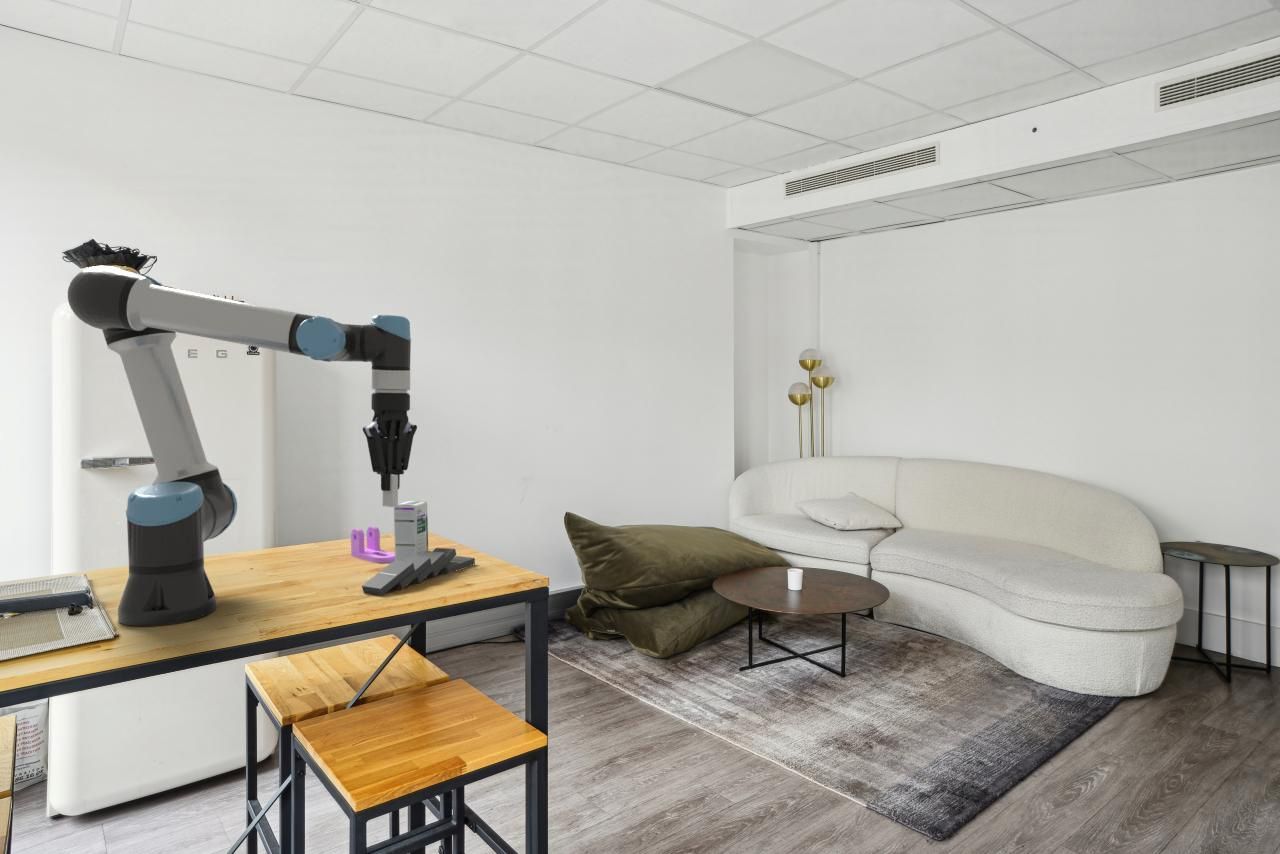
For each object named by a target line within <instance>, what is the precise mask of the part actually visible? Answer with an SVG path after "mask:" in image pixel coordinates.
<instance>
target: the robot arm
mask: <svg viewBox="0 0 1280 854" xmlns="http://www.w3.org/2000/svg"><path fill="white" fill-rule="evenodd" d="M67 300H68V301H67V302H68V304H69V307H70V309H71V311H72V312H73V314H74V315H75V316H76V317H77V318H78V319H79V320H81V321H82V322H84V324H86V325H88V326H91V328H95V329H99V330H101V331H102V334H103V336H104V340H105V343H106V346H107V348H108V349H109V350H111V351H112V352H115V353H116V354H118V355H119V356H120V359H121V362H122V365H123V368H124V371H125V375H126V378H127V380H128V383H129V387H130V391H131V393H132V396H133V400H134V401H135V405H136V409H137V412H138V415H139V418H140V421H141V424H142V427H143V430H144V431H143V432H144V433H145V436H146V437H145V438H146V439H147V443H148V446H149V449H150V451H151V455H152V458H153V462H154V464H155V468H156V471H157V476H156V477H155V479H154V481H153V482H152V483H151V484H149V485H144V486H141V487H139V488H136V489H134V490H133V491H132V492H131V493H130V494H129V495H128V497H127V505H126V506H127V507H126V510H125V516H126V521H127V523H126V524H127V525H126V526H127V551H128V552H127V553H128V555H127V557H128V579H127V580H126V584H125V587H124V589H123V593H122V596H121V599H120V600H119V601H120V602H119V605H118V607H117V613H118V614H117V619H118V622H119V623H120V624H123V625H126V626H133V627H134V626H135V627H151V626H152V627H153V626H154V627H155V626H163V625H164V626H165V625H172V624H173V625H174V624H178V623H184V622H189V621H192V620H195V619H200V618H202V617H205V616H208V615H209V614H212V613H213V612H214V611H215V610H216V608H217V606H216V604H217V603H216V595H215V592H214V590H213V587H212V585H211V582H210V579H209V578H208V575H207V573H206V569H205V558H204V556H205V553H204V552H205V551H204V550H205V549H204V547H205V546H204V545H205V544H204V543H205V542H207V541H209V540H212V539H215V538H217V537H219V536H221V534H222V533H224V532H225V531H226V530H227V529H228V528H229V527H230V526H231V525H232V523H233V522H234V520H235V518H236V516H237V512H238V511H237V510H238V500H237V497H236V495H235V492H234V491H233V490H232V488H231V487H230V486H229V485H227V484H226V483H224V482H223V479H222V476H221V474H220V470H219V468H218V466H216V465H214V464H212V463H210V462H209V461H207V458H206V454H205V451H204V448H203V445H202V442H201V439H200V435H199V432H198V429H197V426H196V422H195V420H194V417H193V412H192V410H191V406H190V403H189V400H188V398H187V394H186V391H185V387H184V384H183V381H182V379H181V375H180V372H179V369H178V365H177V362H176V359H175V356H174V353H173V350H172V344H173V342H174V341H175V339H176V338H177V334H179V333H180V334H183V335H184V334H185V335H191V336H195V337H202V338H205V339H206V338H207V339H212V340H218V341H223V342H229V343H235V344H239V345H245V346H250V347H256V348H262V349H267V350H274V351H277V352H283V353H289V354H294V355H299V356H304V357H310V359H311V360H314V361H322V362H329V363H330V362H363V363H371V390H374V392H372V394H371V405H370V406H371V410H372V411H373V412H374V413H373V416H372V419H371V420H372V422H371V423H370V424H369V425H364V426H363V427H362V432H363V434H364V435H365V437H366V442H367V447H368V452H369V457H370V463H371V468H372V469H371V470H372V472H373V473H376V474H377V475H380V489H381V491H382V507H390V508H394V507H396V506H398V504H399V495H398V494H399V489H400V486H401V485H400V481H401V480H400V477H401V476H400V475H404V473H405V471H407V470H408V467H409V464H410V463H409V462H410V457H411V452H412V447H413V441H414V436H415V434H416V432H417V429H418V426H417V425H416V424H412V423H411V422H409V416H408V411H410V409H411V395H410V393H409V392H408V391H410V390H411V349H412V348H411V345H412V338H411V324H410V323H411V322H410V320H409V319H408V318H407V317H405V316H400V315H392V314H391V315H390V314H386V315H385V314H384V315H383V314H378V315H373V316H372V318H371V322H370V324H350V323H348V324H347V323H345V324H344V323H341V322H338V321H335V320H333V319H332V318H330V317H325V316H320V315H319V316H318V315H317V316H314V315H310V314H304V313H303V314H302V313H298V312H293V311H288V310H283V309H279V308H273V307H268V306H263V305H258V304H252V303H246V302H244V301H239V300H238V301H237V300H234V299H227V298H222V297H217V296H212V295H206V294H201V293H196V292H191V291H186V290H180V289H177V288H171V287H165V285H164V284H162V283H160V282H158V281H157V280H155V278H152V277H150V276H148V275H145V274H140V273H137V272H132V271H127V270H124V269H121V268H118V267H115V266H112V265H111V266H108V265H96V266H92V267H91V266H90V267H88V268H85V269H83V270H82V271H80V272H78V273H77V274H76V275H75V276H74V277H73V278H72V279H71V281H70V283H69V286H68V288H67Z"/></svg>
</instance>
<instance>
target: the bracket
mask: <svg viewBox="0 0 1280 854" xmlns="http://www.w3.org/2000/svg"><path fill="white" fill-rule="evenodd" d="M380 533H381V532H380V530H379V528H378V526H377V525H375V526H369V527H368V528H367V530H366V548H365V533H364V531H363V529H361V528H354V529H352V530H351V534H350V547H351V548H350V550H351V551H350V552H351V553H350V554H351V555H350V556H351V557H353V558H356V559H361V560H364V561H366V562H367V561H368V562H370V561H371V563H374V562H375V564H388V562H389V563H392V562H393V561H394V560H395V552H391V551H386V550H383V549H381V534H380Z"/></svg>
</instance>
